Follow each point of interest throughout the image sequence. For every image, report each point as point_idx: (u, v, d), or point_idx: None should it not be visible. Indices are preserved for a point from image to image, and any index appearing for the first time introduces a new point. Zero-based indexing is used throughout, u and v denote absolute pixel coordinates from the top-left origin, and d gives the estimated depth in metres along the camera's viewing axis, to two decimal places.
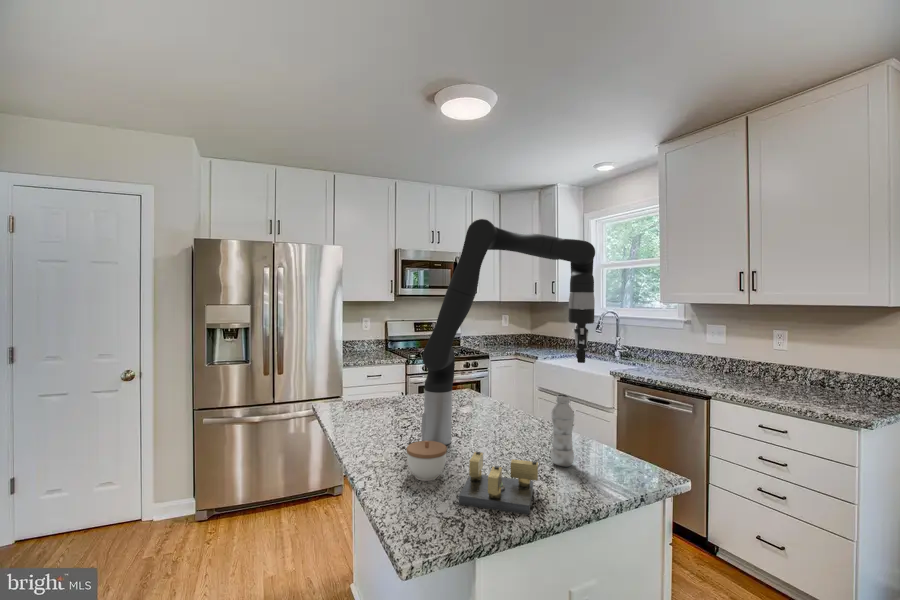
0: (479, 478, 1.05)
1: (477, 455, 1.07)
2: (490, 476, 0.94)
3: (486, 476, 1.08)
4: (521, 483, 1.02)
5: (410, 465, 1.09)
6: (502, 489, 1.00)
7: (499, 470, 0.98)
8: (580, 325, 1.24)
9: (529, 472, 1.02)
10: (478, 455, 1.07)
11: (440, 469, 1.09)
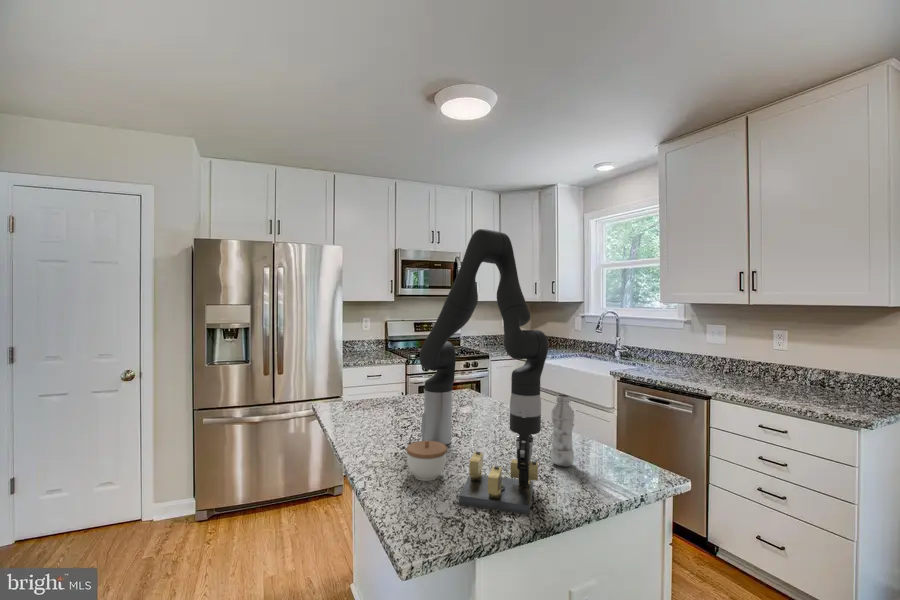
0: (479, 478, 1.05)
1: (477, 455, 1.07)
2: (490, 476, 0.94)
3: (486, 476, 1.08)
4: None
5: (410, 465, 1.09)
6: (502, 489, 1.00)
7: (499, 470, 0.98)
8: (522, 437, 0.99)
9: (529, 472, 1.02)
10: (478, 455, 1.07)
11: (440, 469, 1.09)
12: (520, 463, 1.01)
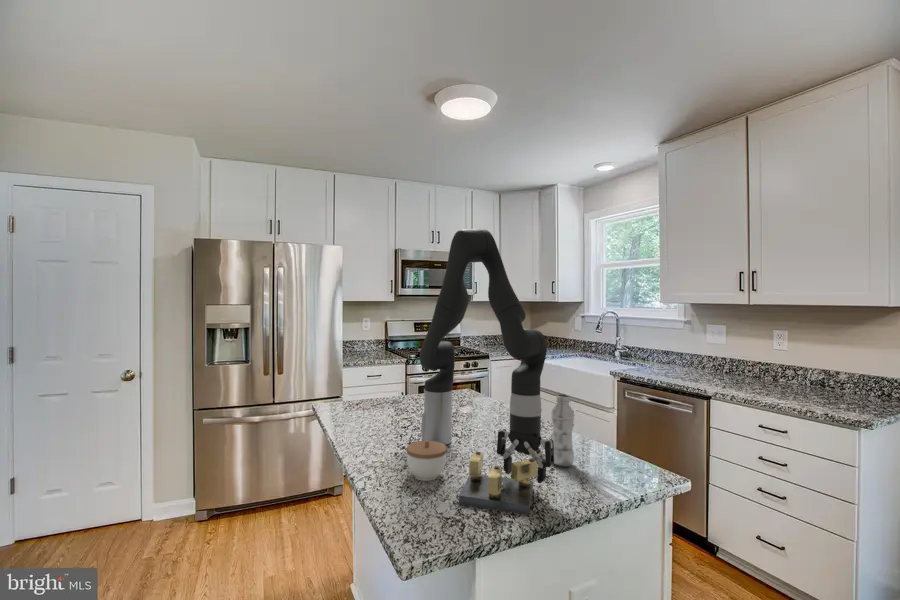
0: (479, 478, 1.05)
1: (477, 455, 1.07)
2: (490, 476, 0.94)
3: (486, 476, 1.08)
4: (525, 483, 1.02)
5: (410, 465, 1.09)
6: (502, 489, 1.00)
7: (499, 470, 0.98)
8: (538, 436, 1.00)
9: (531, 470, 1.03)
10: (478, 455, 1.07)
11: (440, 469, 1.09)
12: (540, 460, 1.00)
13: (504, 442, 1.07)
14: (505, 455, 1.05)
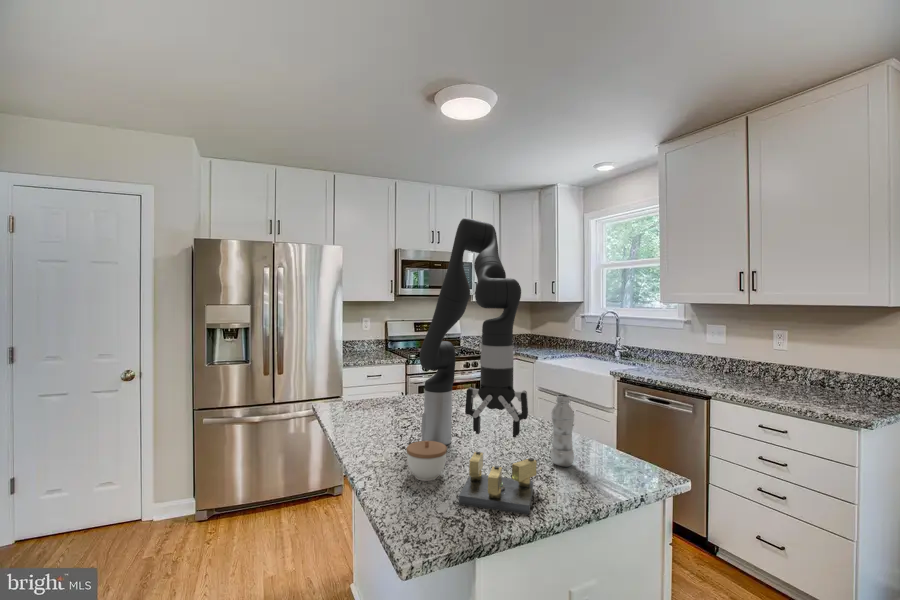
0: (479, 478, 1.05)
1: (477, 455, 1.07)
2: (490, 476, 0.94)
3: (486, 476, 1.08)
4: (526, 483, 1.02)
5: (410, 465, 1.09)
6: (502, 489, 1.00)
7: (499, 470, 0.98)
8: None
9: (531, 470, 1.03)
10: (478, 455, 1.07)
11: (440, 469, 1.09)
12: None
13: None
14: None
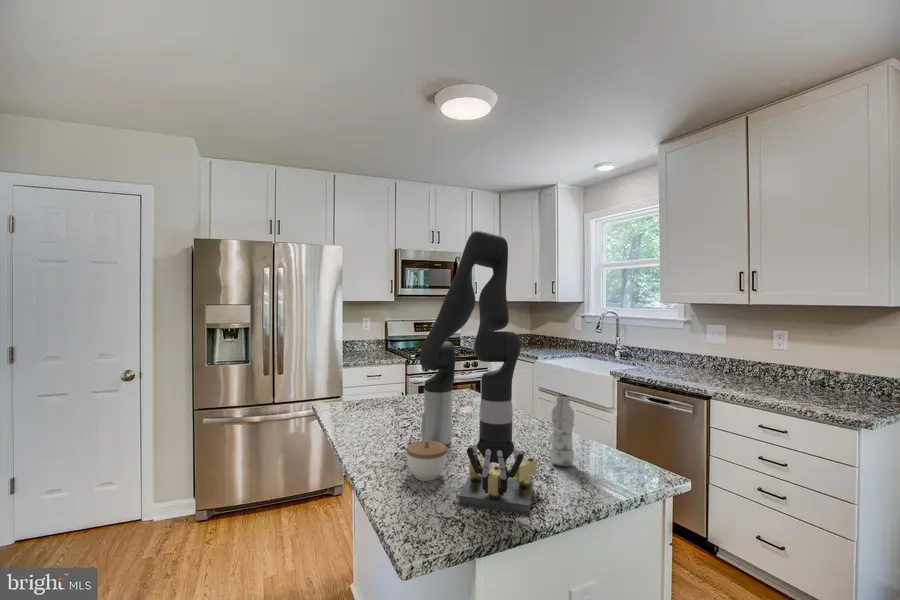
0: (479, 478, 1.05)
1: (477, 455, 1.07)
2: (490, 476, 0.94)
3: None
4: (526, 483, 1.02)
5: (410, 465, 1.09)
6: None
7: (499, 470, 0.98)
8: None
9: (531, 470, 1.03)
10: (478, 455, 1.07)
11: (440, 469, 1.09)
12: None
13: (514, 464, 0.95)
14: None
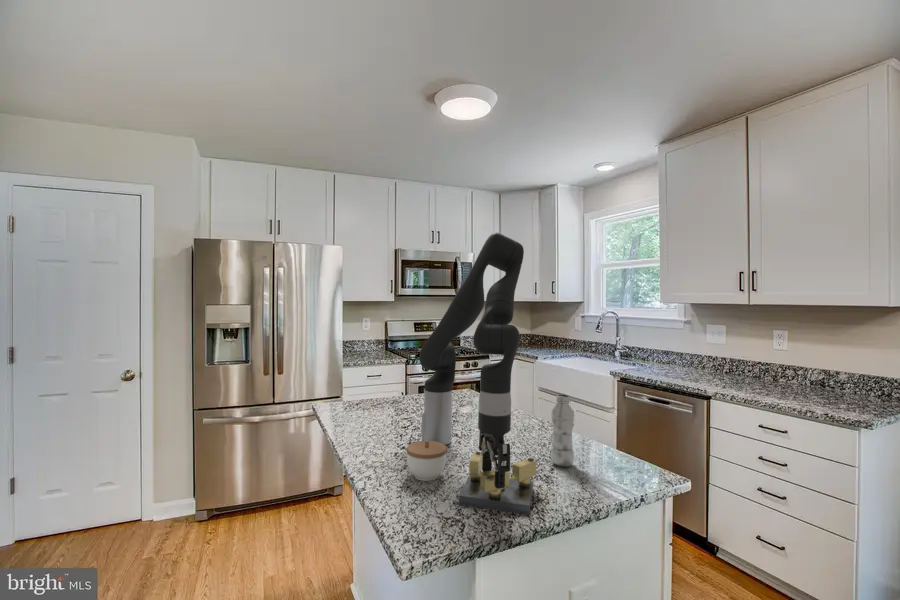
0: (479, 478, 1.05)
1: (477, 455, 1.07)
2: (483, 472, 0.96)
3: None
4: (526, 483, 1.02)
5: (410, 465, 1.09)
6: (502, 489, 1.00)
7: None
8: None
9: (531, 470, 1.03)
10: (478, 455, 1.07)
11: (440, 469, 1.09)
12: None
13: None
14: None
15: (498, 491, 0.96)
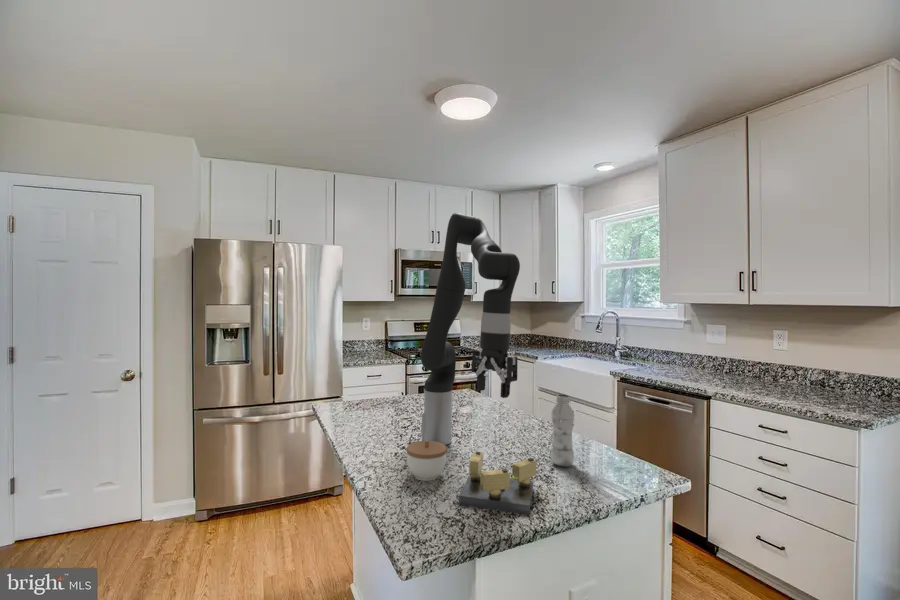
0: (479, 478, 1.05)
1: (477, 455, 1.07)
2: (483, 472, 0.97)
3: None
4: (526, 483, 1.02)
5: (410, 465, 1.09)
6: (502, 489, 1.00)
7: (501, 473, 0.96)
8: None
9: (531, 470, 1.03)
10: (478, 455, 1.07)
11: (440, 469, 1.09)
12: None
13: None
14: None
15: (497, 491, 0.95)
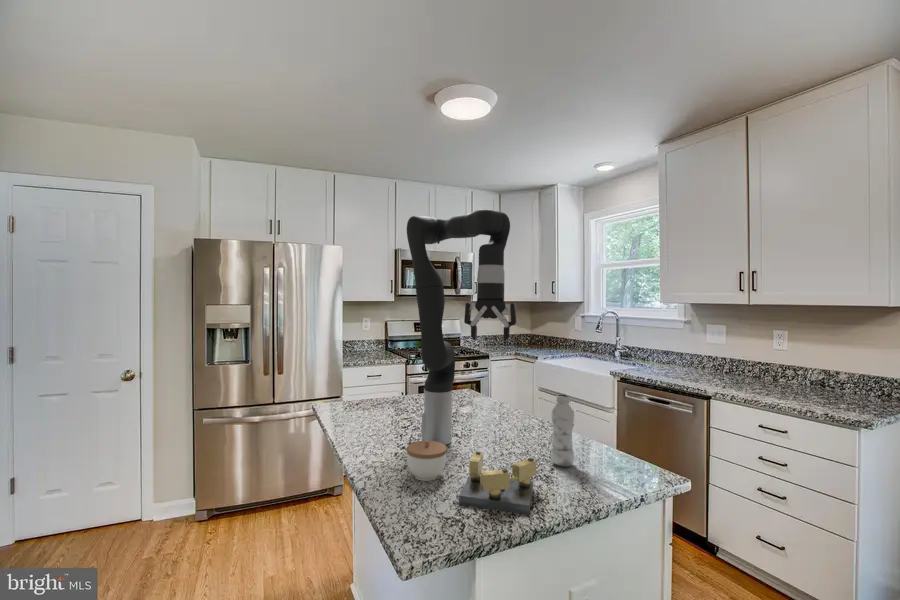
0: (479, 478, 1.05)
1: (477, 455, 1.07)
2: (483, 471, 0.97)
3: None
4: (526, 483, 1.02)
5: (410, 465, 1.09)
6: (502, 489, 1.00)
7: (501, 473, 0.96)
8: None
9: (531, 470, 1.03)
10: (478, 455, 1.07)
11: (440, 469, 1.09)
12: None
13: None
14: None
15: (497, 491, 0.95)
